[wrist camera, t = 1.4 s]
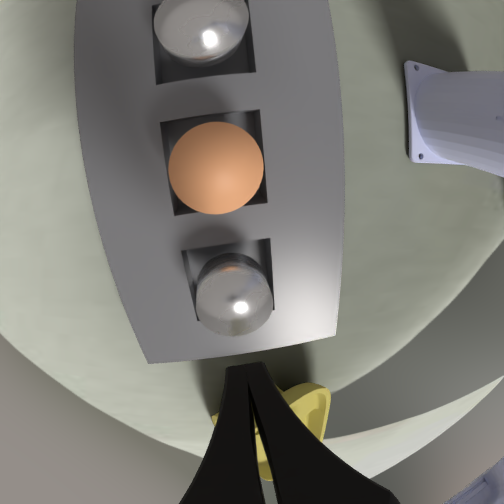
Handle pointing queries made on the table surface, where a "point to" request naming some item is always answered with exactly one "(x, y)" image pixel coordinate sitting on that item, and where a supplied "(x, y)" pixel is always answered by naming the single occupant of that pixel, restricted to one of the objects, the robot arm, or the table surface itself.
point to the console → (214, 225)
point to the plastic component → (307, 410)
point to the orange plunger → (215, 168)
